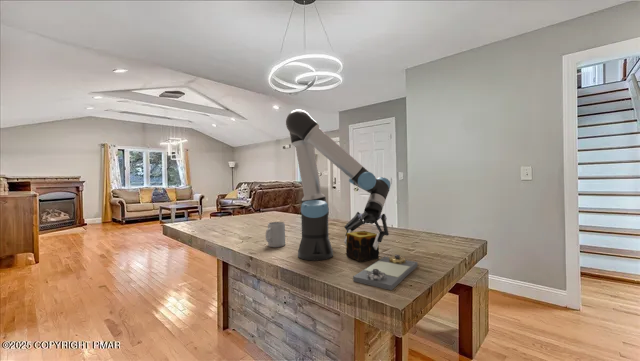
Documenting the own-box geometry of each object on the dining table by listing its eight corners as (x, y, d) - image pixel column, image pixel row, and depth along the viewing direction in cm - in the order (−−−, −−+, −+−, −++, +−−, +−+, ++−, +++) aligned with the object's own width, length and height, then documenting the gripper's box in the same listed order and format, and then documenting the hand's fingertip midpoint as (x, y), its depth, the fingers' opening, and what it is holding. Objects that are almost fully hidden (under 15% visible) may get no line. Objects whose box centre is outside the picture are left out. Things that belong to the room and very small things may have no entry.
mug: (275, 242, 143) (275, 221, 143) (288, 244, 139) (288, 222, 139) (259, 247, 133) (259, 225, 133) (273, 249, 129) (273, 226, 128)
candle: (359, 262, 108) (359, 237, 108) (345, 256, 117) (345, 232, 116) (379, 258, 113) (379, 234, 112) (364, 252, 122) (364, 230, 121)
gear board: (353, 281, 89) (353, 269, 89) (384, 260, 110) (384, 250, 110) (391, 290, 82) (391, 277, 82) (417, 266, 103) (417, 255, 103)
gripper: (403, 212, 120) (391, 255, 108) (353, 209, 134) (338, 246, 122) (399, 201, 115) (385, 244, 103) (348, 199, 130) (331, 237, 118)
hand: (359, 246), depth 113 cm, fingers closed on candle, 13 cm apart
